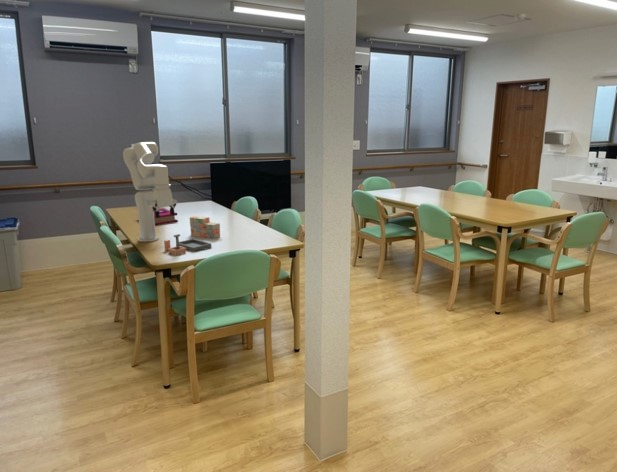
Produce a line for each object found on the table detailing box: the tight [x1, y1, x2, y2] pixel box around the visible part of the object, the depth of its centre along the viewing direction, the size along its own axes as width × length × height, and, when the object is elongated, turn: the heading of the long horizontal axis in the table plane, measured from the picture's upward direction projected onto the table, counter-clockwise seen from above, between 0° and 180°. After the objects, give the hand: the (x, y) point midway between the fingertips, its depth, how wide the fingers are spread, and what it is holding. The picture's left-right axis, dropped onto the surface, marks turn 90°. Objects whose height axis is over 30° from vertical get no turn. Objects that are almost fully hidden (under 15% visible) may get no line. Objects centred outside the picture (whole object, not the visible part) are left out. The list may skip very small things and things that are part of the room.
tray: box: [179, 238, 212, 252], centre depth 283 cm, size 18×13×2 cm
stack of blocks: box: [189, 215, 221, 239], centre depth 309 cm, size 21×6×12 cm, turn 57°
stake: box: [173, 234, 181, 249], centre depth 268 cm, size 2×3×11 cm, turn 138°
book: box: [152, 207, 179, 226], centre depth 358 cm, size 21×28×8 cm
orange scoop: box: [163, 239, 187, 256], centre depth 272 cm, size 15×7×6 cm, turn 49°
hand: (165, 216), depth 272 cm, fingers open, 9 cm apart
